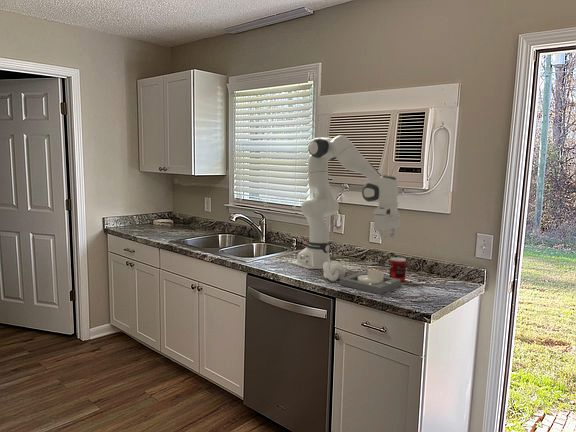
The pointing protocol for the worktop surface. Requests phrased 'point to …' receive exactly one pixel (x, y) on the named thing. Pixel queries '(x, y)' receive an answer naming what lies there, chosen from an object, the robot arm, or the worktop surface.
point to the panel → (380, 288)
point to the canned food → (397, 268)
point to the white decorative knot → (333, 270)
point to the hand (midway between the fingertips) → (387, 238)
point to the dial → (372, 277)
